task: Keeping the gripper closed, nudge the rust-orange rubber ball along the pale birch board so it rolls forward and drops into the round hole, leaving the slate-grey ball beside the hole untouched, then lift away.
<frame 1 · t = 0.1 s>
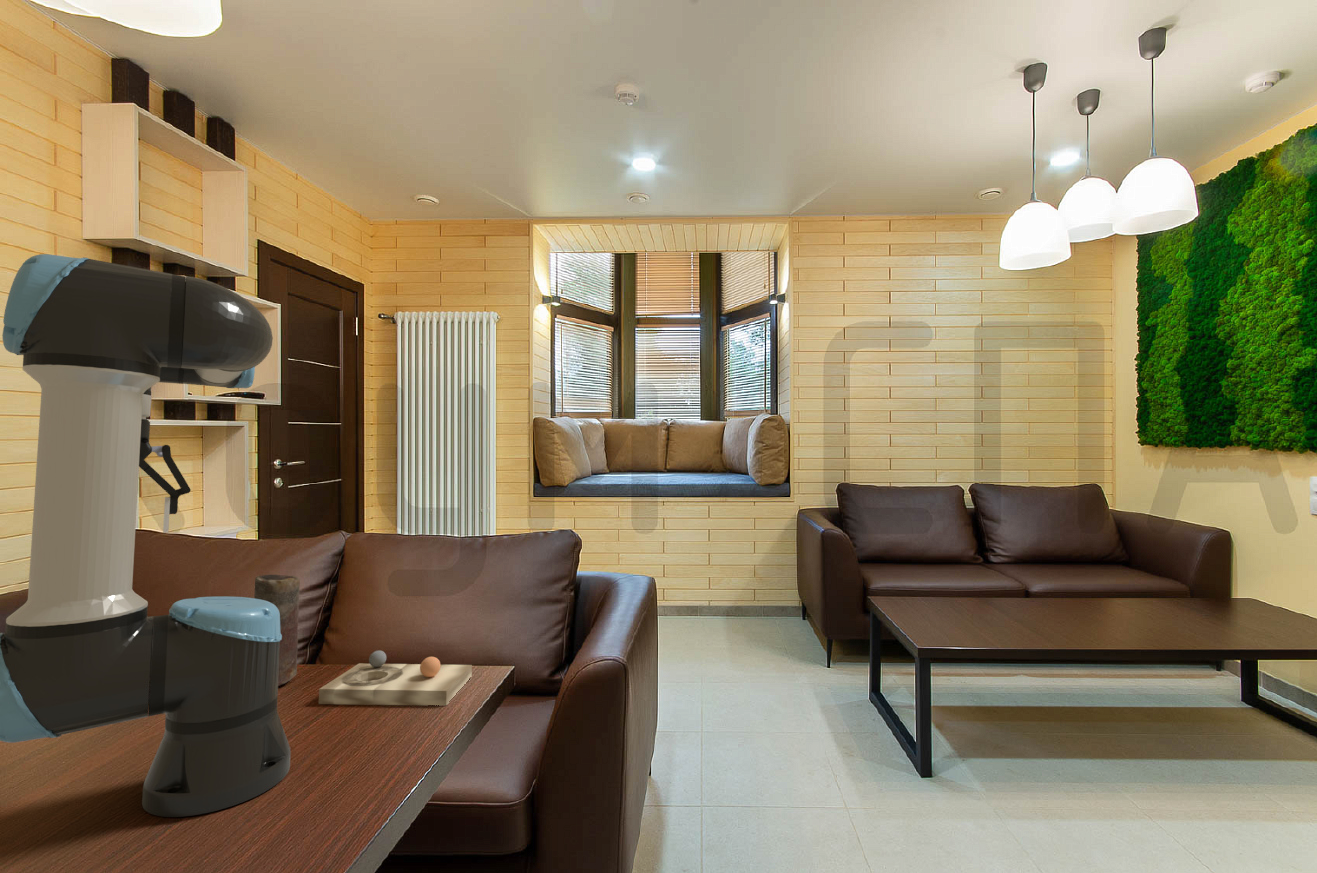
hand: (116, 534, 105), 28 cm above the table, fingers open, 13 cm apart
candle: (273, 684, 109), on the table
grey ball: (377, 658, 111), point 4 cm above the table, touching board
orange ball: (430, 666, 106), point 4 cm above the table, touching board
board: (399, 690, 106), on the table
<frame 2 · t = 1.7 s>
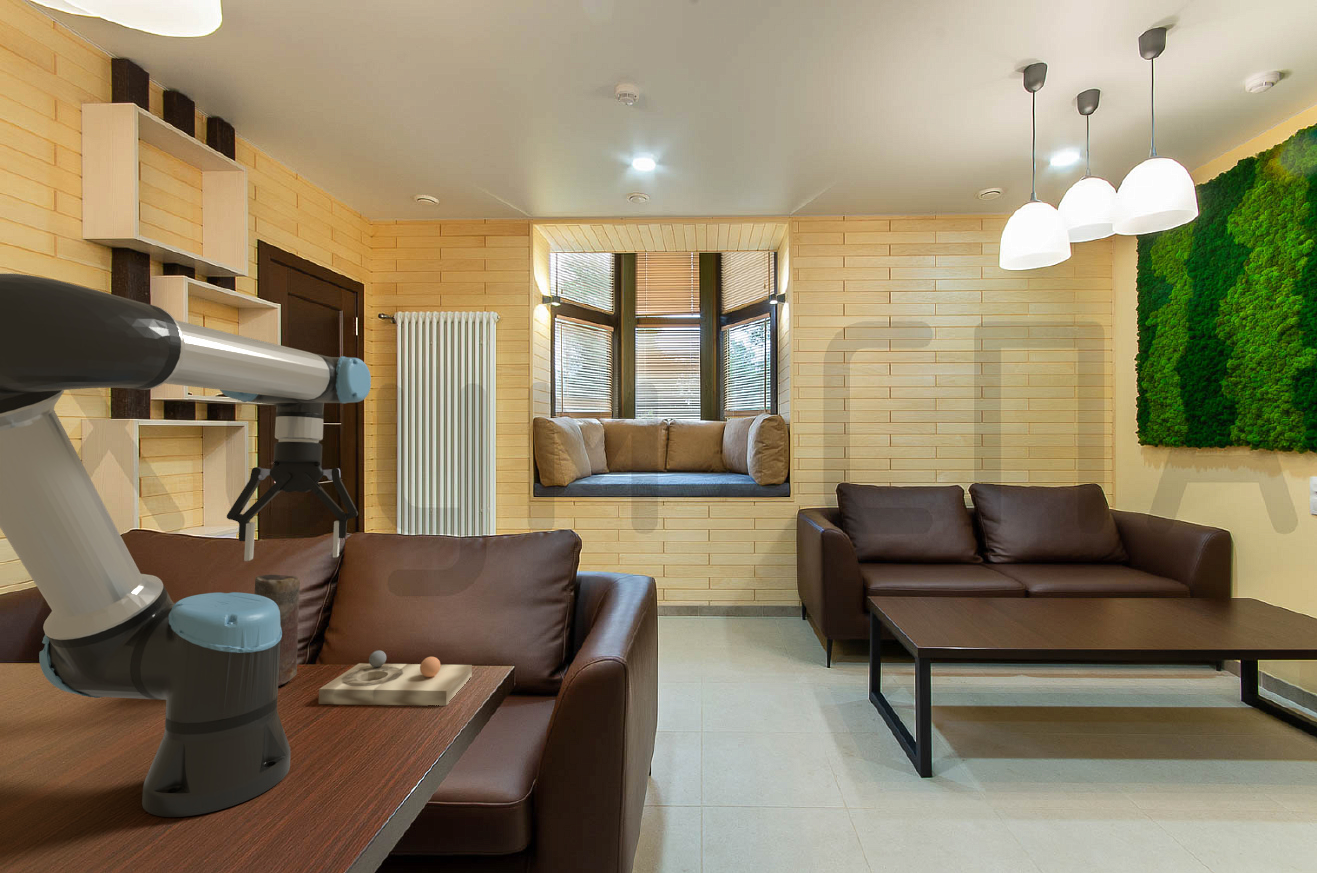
hand: (293, 558, 106), 24 cm above the table, fingers open, 13 cm apart
nothing on the table moved.
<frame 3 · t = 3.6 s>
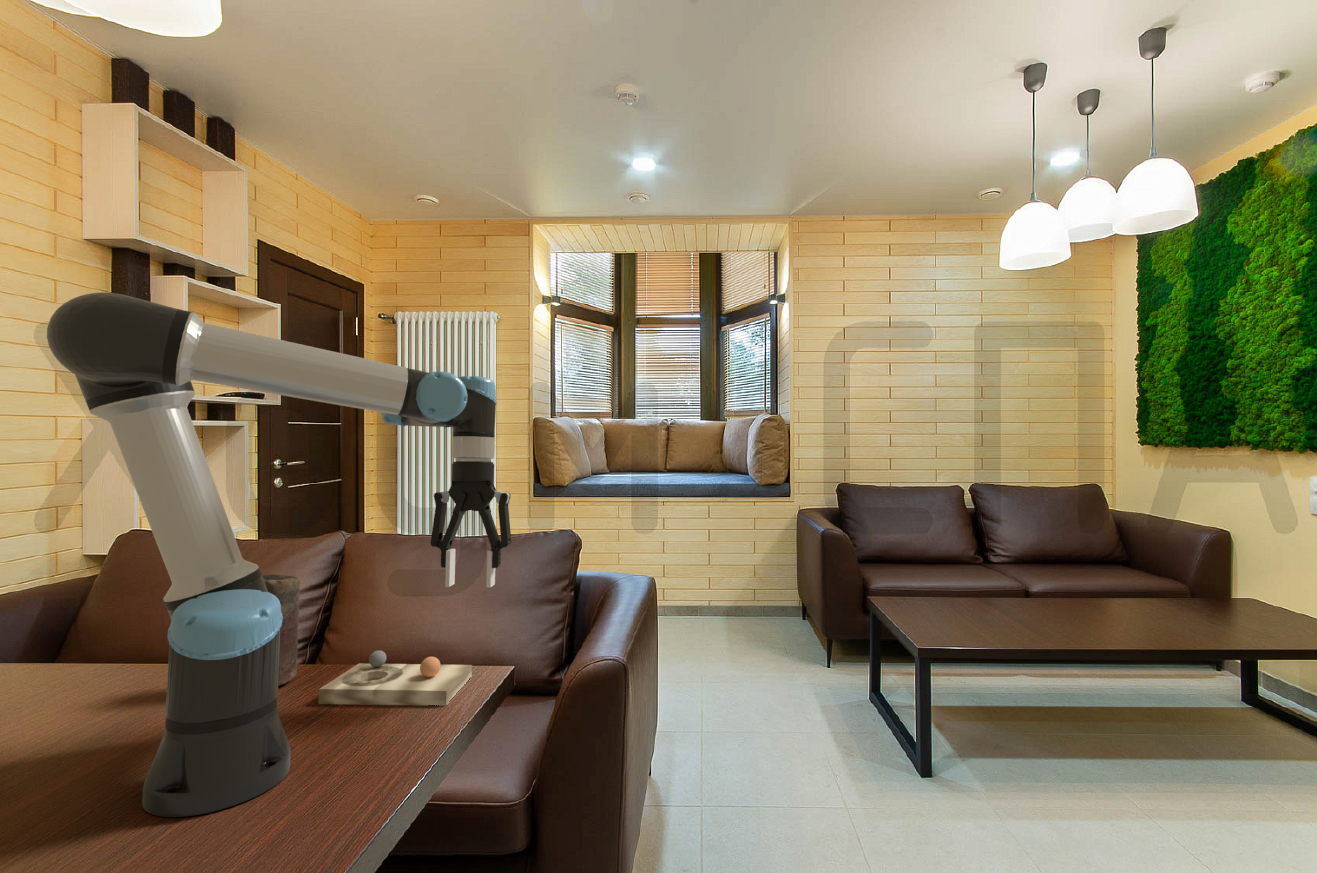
hand: (470, 585, 107), 19 cm above the table, fingers open, 7 cm apart
nothing on the table moved.
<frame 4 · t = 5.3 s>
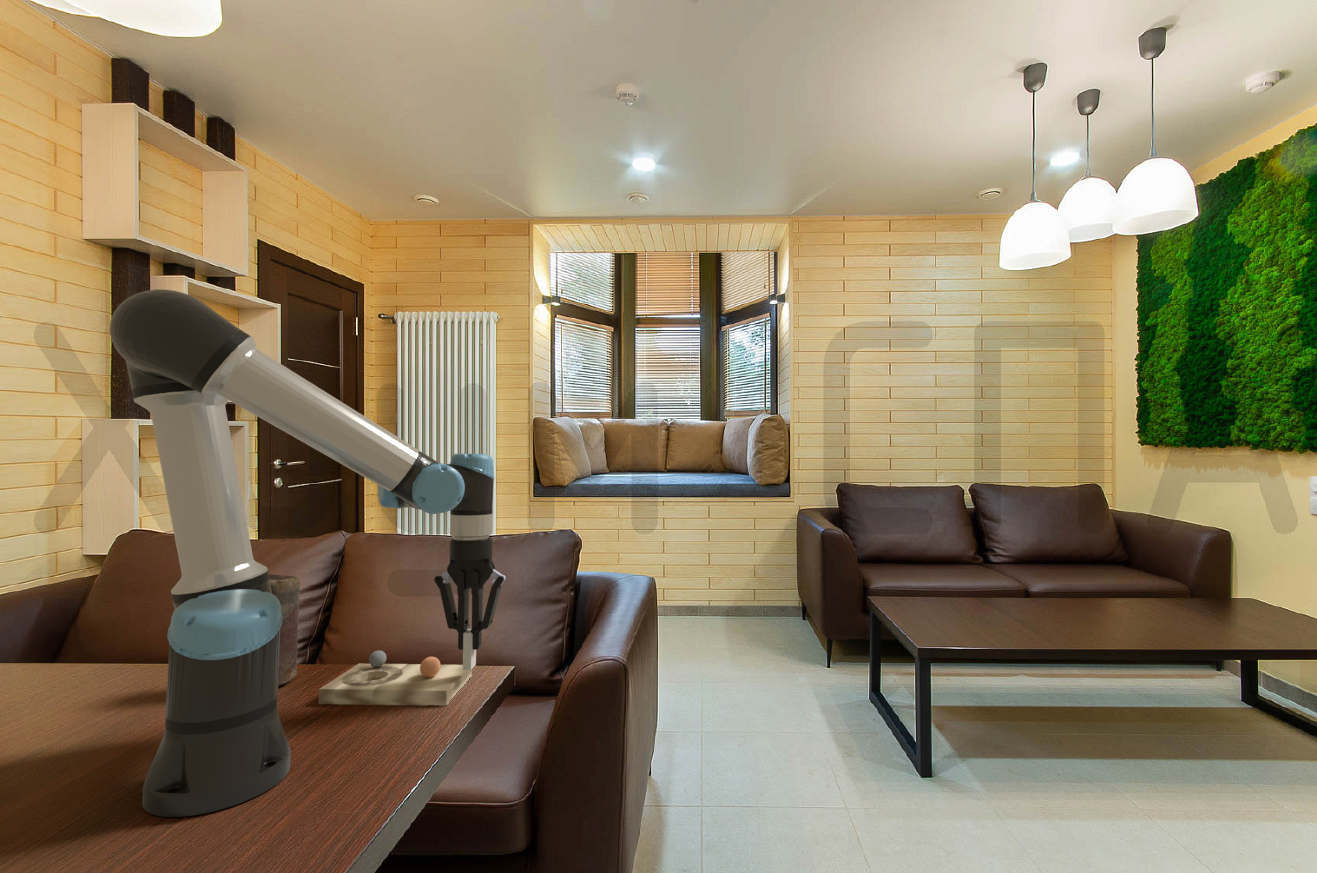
hand: (469, 667, 106), 4 cm above the table, fingers closed
nothing on the table moved.
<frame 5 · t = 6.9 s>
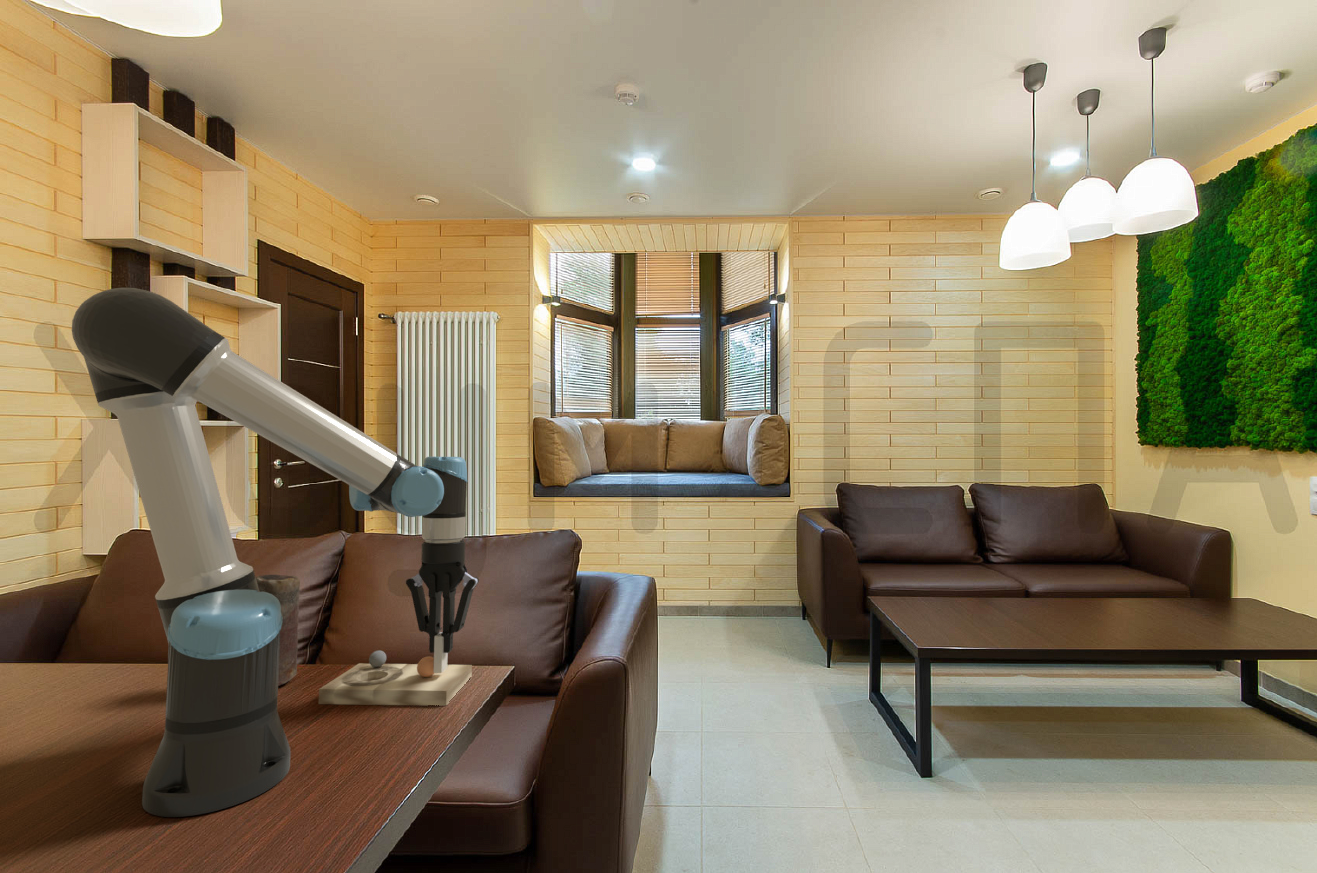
hand: (440, 670, 106), 4 cm above the table, fingers closed
orange ball: (427, 666, 106), point 4 cm above the table, tilted 18°, touching board, gripper
everything else where it was.
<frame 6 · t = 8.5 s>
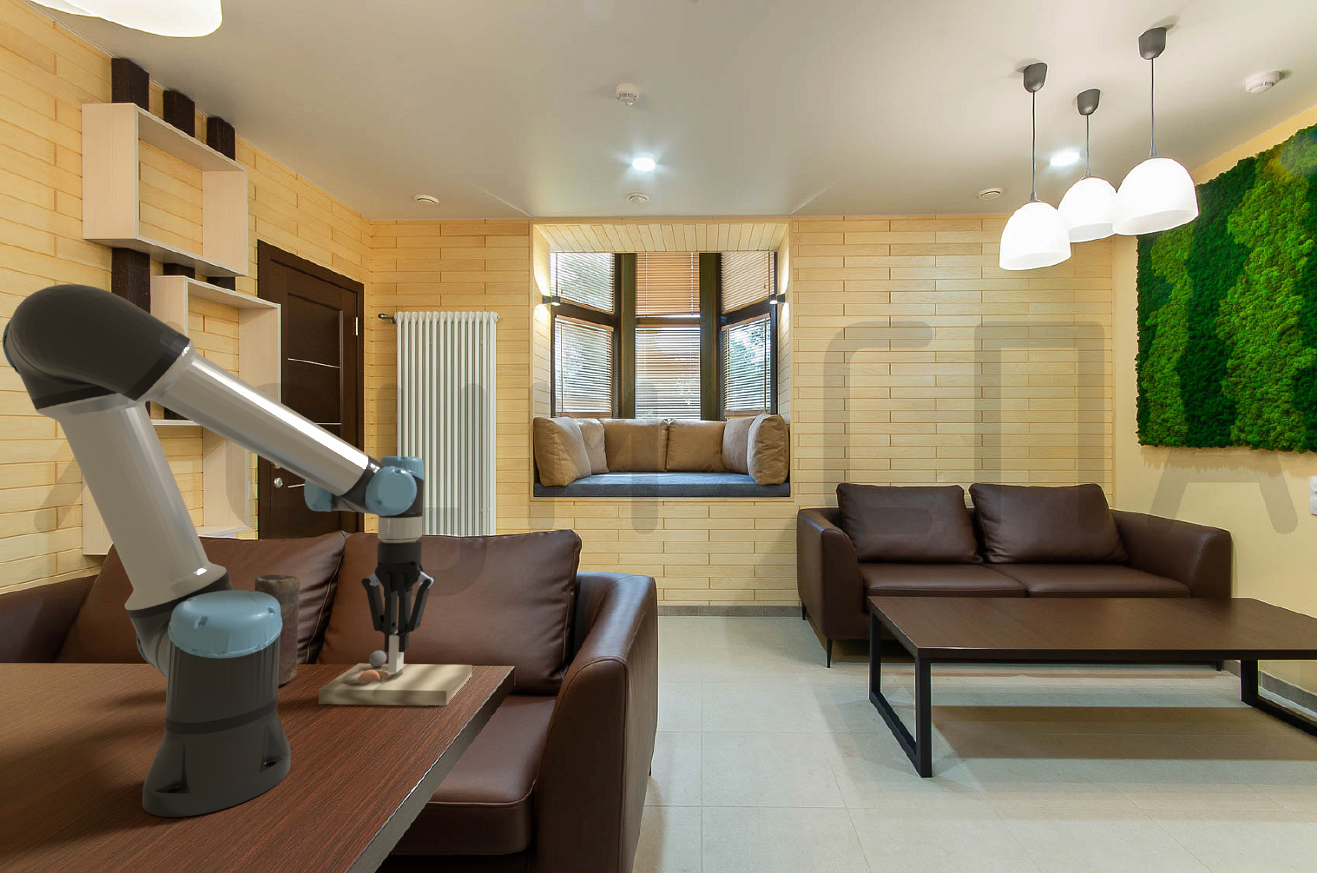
hand: (395, 669, 106), 4 cm above the table, fingers closed
orange ball: (369, 680, 106), point 2 cm above the table, tilted 6°
everything else where it was.
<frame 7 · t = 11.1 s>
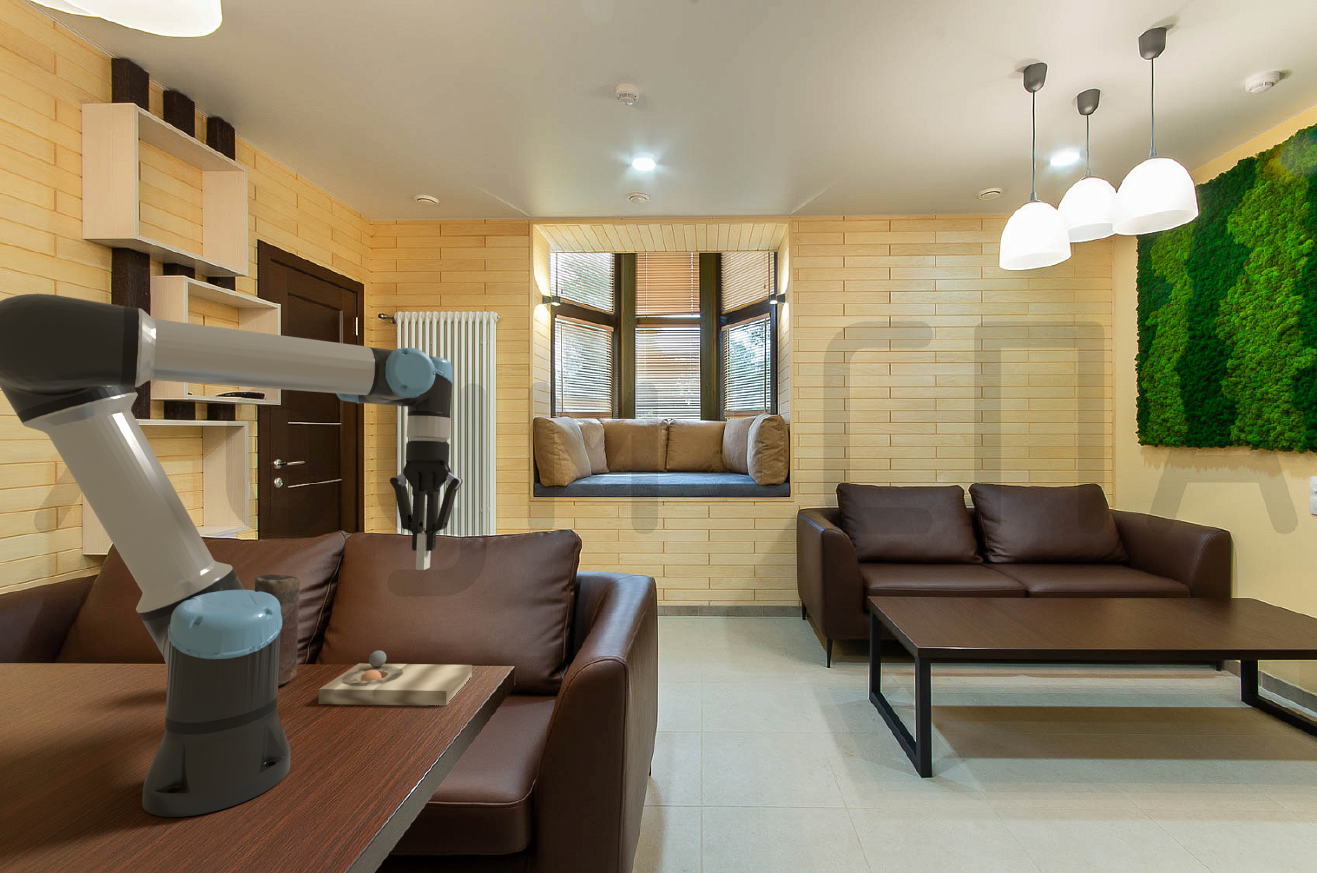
hand: (422, 568, 107), 22 cm above the table, fingers closed
nothing on the table moved.
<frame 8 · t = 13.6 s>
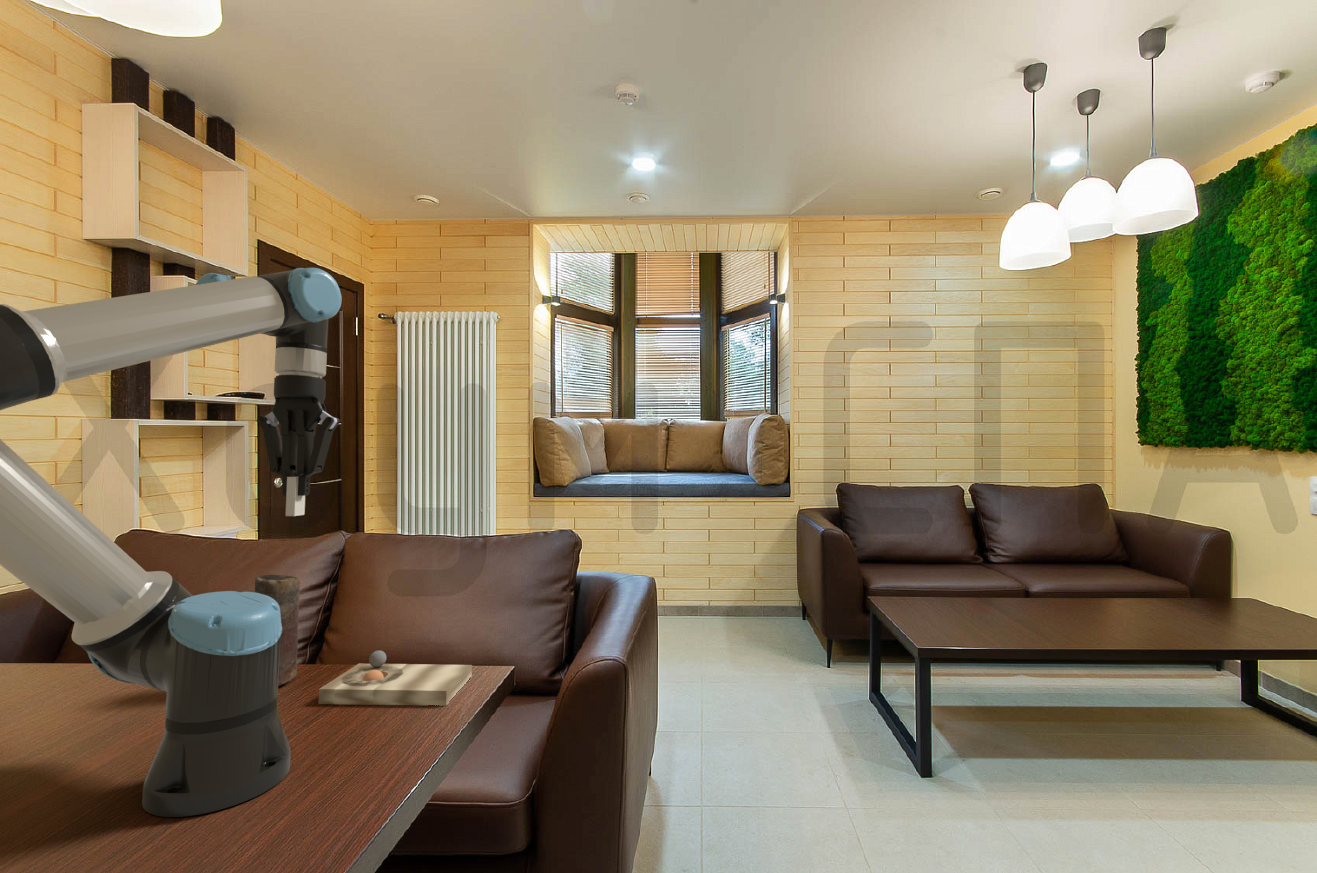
hand: (295, 515, 98), 32 cm above the table, fingers closed
orange ball: (373, 680, 106), point 2 cm above the table, tilted 21°
everything else where it was.
at the end: orange ball 0.1 cm from the target spot, point 1.7 cm above the table; grey ball moved 0.0 cm from its start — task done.
